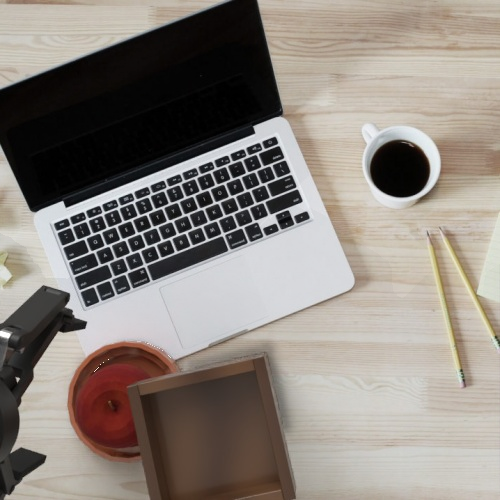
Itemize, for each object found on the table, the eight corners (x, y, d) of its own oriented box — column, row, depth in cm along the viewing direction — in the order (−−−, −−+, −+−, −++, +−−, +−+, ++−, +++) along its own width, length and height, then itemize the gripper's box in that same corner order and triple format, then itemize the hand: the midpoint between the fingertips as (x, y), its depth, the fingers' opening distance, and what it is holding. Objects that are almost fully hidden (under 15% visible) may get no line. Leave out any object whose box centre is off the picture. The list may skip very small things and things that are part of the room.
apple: (180, 421, 87) (165, 438, 77) (108, 448, 88) (83, 468, 78) (154, 348, 88) (135, 355, 78) (82, 375, 88) (55, 385, 78)
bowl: (88, 467, 88) (80, 473, 85) (65, 353, 89) (56, 356, 86) (200, 442, 87) (196, 448, 84) (175, 329, 88) (170, 330, 85)
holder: (164, 514, 63) (155, 528, 59) (136, 381, 64) (126, 386, 60) (296, 486, 63) (296, 499, 59) (266, 352, 64) (263, 356, 60)
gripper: (-57, 626, 48) (51, 523, 69) (51, 271, 49) (126, 276, 70) (-159, 590, 49) (-20, 499, 70) (-50, 241, 50) (54, 255, 71)
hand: (53, 387), depth 70 cm, fingers open, 13 cm apart
